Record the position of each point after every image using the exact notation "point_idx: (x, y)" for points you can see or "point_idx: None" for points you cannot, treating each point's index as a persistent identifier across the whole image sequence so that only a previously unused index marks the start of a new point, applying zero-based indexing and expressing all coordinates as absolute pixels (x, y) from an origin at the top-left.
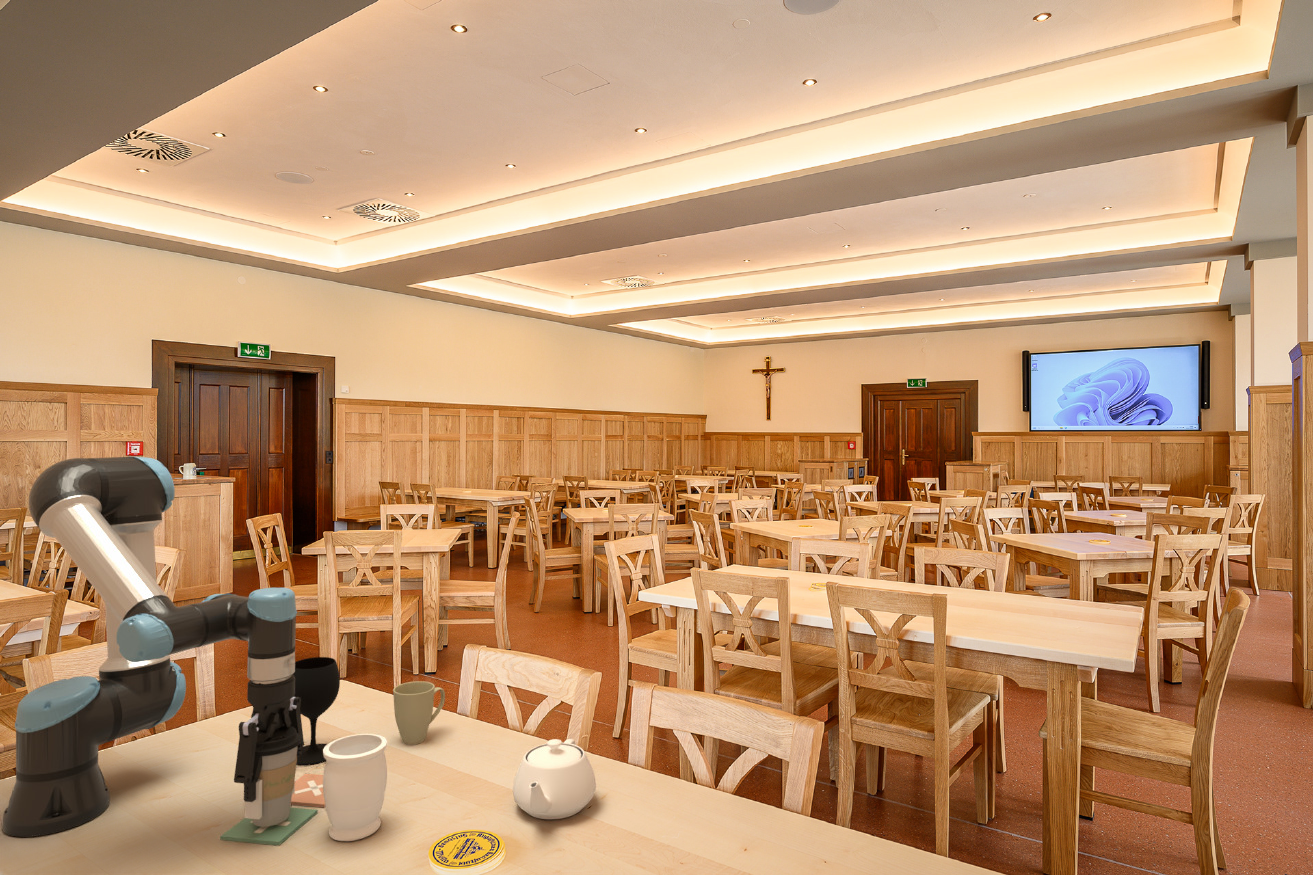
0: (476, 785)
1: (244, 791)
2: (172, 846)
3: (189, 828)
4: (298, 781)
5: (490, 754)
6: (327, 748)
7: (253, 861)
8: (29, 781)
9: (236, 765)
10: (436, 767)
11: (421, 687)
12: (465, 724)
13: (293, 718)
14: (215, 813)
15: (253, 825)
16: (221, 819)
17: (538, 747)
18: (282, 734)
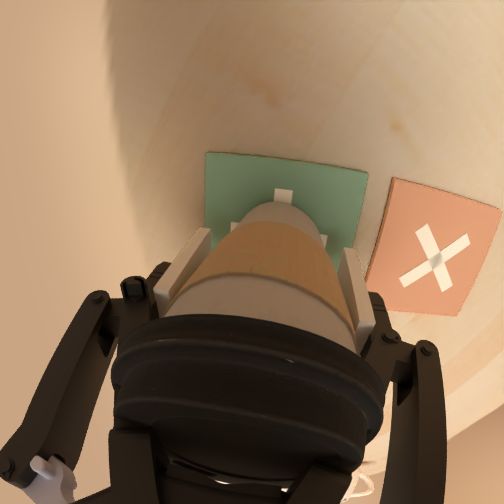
0: (381, 427)
1: (147, 280)
2: (170, 67)
3: (250, 44)
4: (473, 210)
5: (456, 414)
6: (221, 482)
7: (156, 261)
8: None
9: (68, 332)
10: (450, 387)
11: None
12: None
13: (389, 488)
14: (332, 62)
15: (262, 203)
16: (303, 94)
17: (346, 494)
18: (244, 472)
